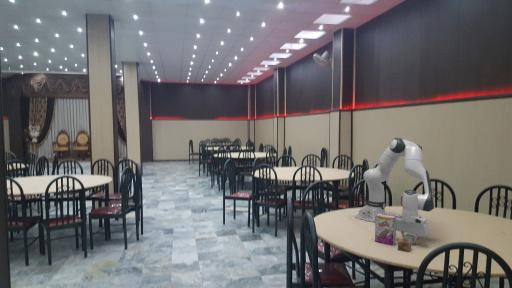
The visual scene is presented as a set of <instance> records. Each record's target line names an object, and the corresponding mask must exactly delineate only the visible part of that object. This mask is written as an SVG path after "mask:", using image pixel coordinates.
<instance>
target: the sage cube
mask: <svg viewBox="0 0 512 288" xmlns="http://www.w3.org/2000/svg"><path fill="white" fill-rule="evenodd" d="M415 237H416V236H415V234H411V233H406V234H404V239H406V240H411V246H412V245H413V244H415V243H416V242H415V241H413V238H415Z"/></svg>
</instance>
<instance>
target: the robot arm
mask: <svg viewBox="0 0 512 288" xmlns="http://www.w3.org/2000/svg"><path fill="white" fill-rule="evenodd" d="M401 157H404V162H403V166H404V167H403V168H404V169H403V170H404V171H405V173H406V174H407V175H409V176H411V177H413V178H415V179H418V180H420V181H422V183H423V187H424V194H421V193H418V191H416V190H413V189H407V190H403V194H402V196H401V197H400V206H401V207H402V211H401V215H398V214H394V215H392V216H393V217H396V232H400V233H401V236H402V239H404V235H405V233H406V234H411V235H415V238H413V241H415V243H416V242H417V238H418V237H420V236H421V237H427V236H428V235H429V227H428V223H427V221H428V220H427V218H426V217H424V216H422V215H420V214H419V212H418V211H423V212H431V211H432V210H434V209H435V206H436V202H435V198H434V195H433V191H432V189H433V188H432V183H431V179H430V174H429V172H428V170H427V169H425V166H424V157H423V148H422V146H421V145H419V144H417V143H416V142H412V141H411V140H407V139H404V138H400V137H394V138H393V139H392V140H391V141H390V143H389V145H388V147H386V148H385V150H384V151H383V153H382V154H381V155H380V157H379V158H378V163H377V166H376V167H374V168H369V169H367V170H365V171H364V173H363V180H364V181H365V182H366V184H367V187H368V200H366V201H365V203H366V204H365V205H364V206H363V207H361V208H359V210H358V214H355V218H356V219H360V220H364V221H367V222H371V223H373V222H376V215H377V214H382V215H386V201H385V198H386V195H385V193H386V192H385V189H384V188H383V187H382V183H383V182H386V181H388V180H389V179H390V177H391V172H392V170H393V168H394V167H395V165H396V164H397V162H398V161H399V160H400V158H401Z"/></svg>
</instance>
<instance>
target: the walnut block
mask: <svg viewBox="0 0 512 288" xmlns="http://www.w3.org/2000/svg"><path fill="white" fill-rule="evenodd" d="M411 249H412V245H411V240H406V239H403V238H399V239H398V241H397V251H400V252H407V253H410V251H412V250H411Z"/></svg>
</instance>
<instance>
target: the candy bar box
mask: <svg viewBox="0 0 512 288" xmlns="http://www.w3.org/2000/svg"><path fill="white" fill-rule="evenodd" d="M393 216H394V215H386V214H385V215H382V214H377V215H376V222H375V225H374V226H375V228H374V229H375V230H374V231H375V232H374V235H375V237H374V242H378V243H381V244H386V245H390V246H394V245H395V244H396V243H397V230H396V217H393Z"/></svg>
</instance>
